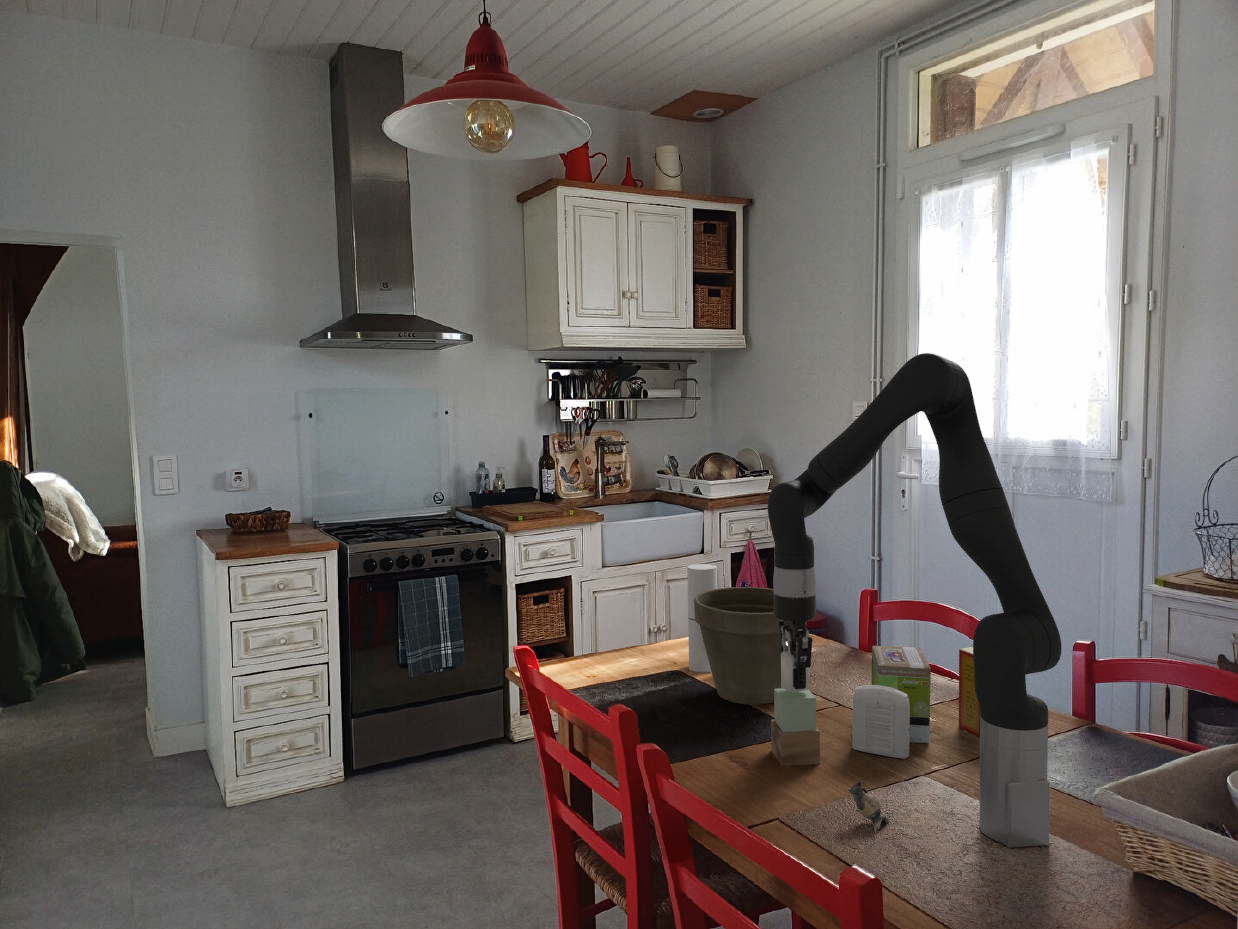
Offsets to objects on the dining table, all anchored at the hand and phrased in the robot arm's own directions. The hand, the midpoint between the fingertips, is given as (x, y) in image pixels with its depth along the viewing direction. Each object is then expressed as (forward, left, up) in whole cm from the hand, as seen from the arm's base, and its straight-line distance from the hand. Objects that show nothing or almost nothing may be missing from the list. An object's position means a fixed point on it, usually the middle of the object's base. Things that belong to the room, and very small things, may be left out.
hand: (795, 683), depth 163 cm
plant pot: (+35, 0, -14) cm, 38 cm away
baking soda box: (+8, -41, -14) cm, 44 cm away
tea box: (+11, -24, -14) cm, 30 cm away
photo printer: (0, -16, -14) cm, 21 cm away
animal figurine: (-26, -4, -14) cm, 30 cm away
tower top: (0, 0, -8) cm, 8 cm away
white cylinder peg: (0, 0, -1) cm, 1 cm away
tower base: (0, 0, -14) cm, 14 cm away
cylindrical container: (+56, +7, -14) cm, 58 cm away
